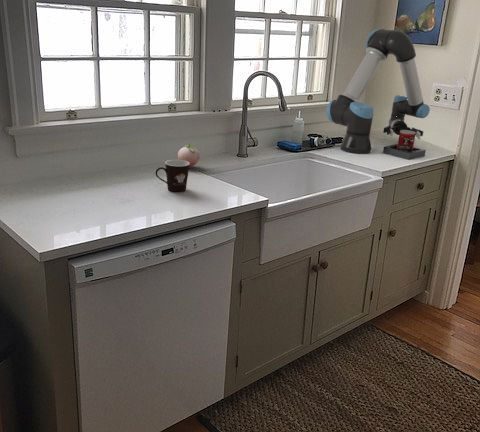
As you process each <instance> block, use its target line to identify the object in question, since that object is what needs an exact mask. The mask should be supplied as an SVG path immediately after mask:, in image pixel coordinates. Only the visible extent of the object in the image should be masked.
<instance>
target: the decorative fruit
mask: <svg viewBox="0 0 480 432" xmlns="http://www.w3.org/2000/svg"><path fill="white" fill-rule="evenodd" d="M177 158H178V159H177V160H184V161H187V162H189V163H190V165H189V169H190V168H192V167H194V166H196V165H197V164H198V162H199V161H200V158H201V155H200V152H199V151H198V149H197V148H194V147H192V146H191V145H190V143H189V144H186V145H184V147H182V148H180V149H179V150H178V153H177Z"/></svg>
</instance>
